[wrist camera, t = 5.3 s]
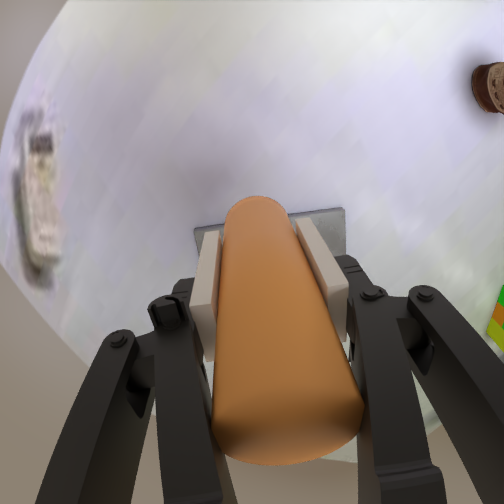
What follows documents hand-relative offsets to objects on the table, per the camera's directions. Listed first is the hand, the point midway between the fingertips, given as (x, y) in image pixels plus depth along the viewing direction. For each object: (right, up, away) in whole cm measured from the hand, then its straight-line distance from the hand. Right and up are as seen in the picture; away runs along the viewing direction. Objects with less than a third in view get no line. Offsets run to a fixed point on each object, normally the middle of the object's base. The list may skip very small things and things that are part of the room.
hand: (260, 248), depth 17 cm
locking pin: (0, +1, +3) cm, 3 cm away
